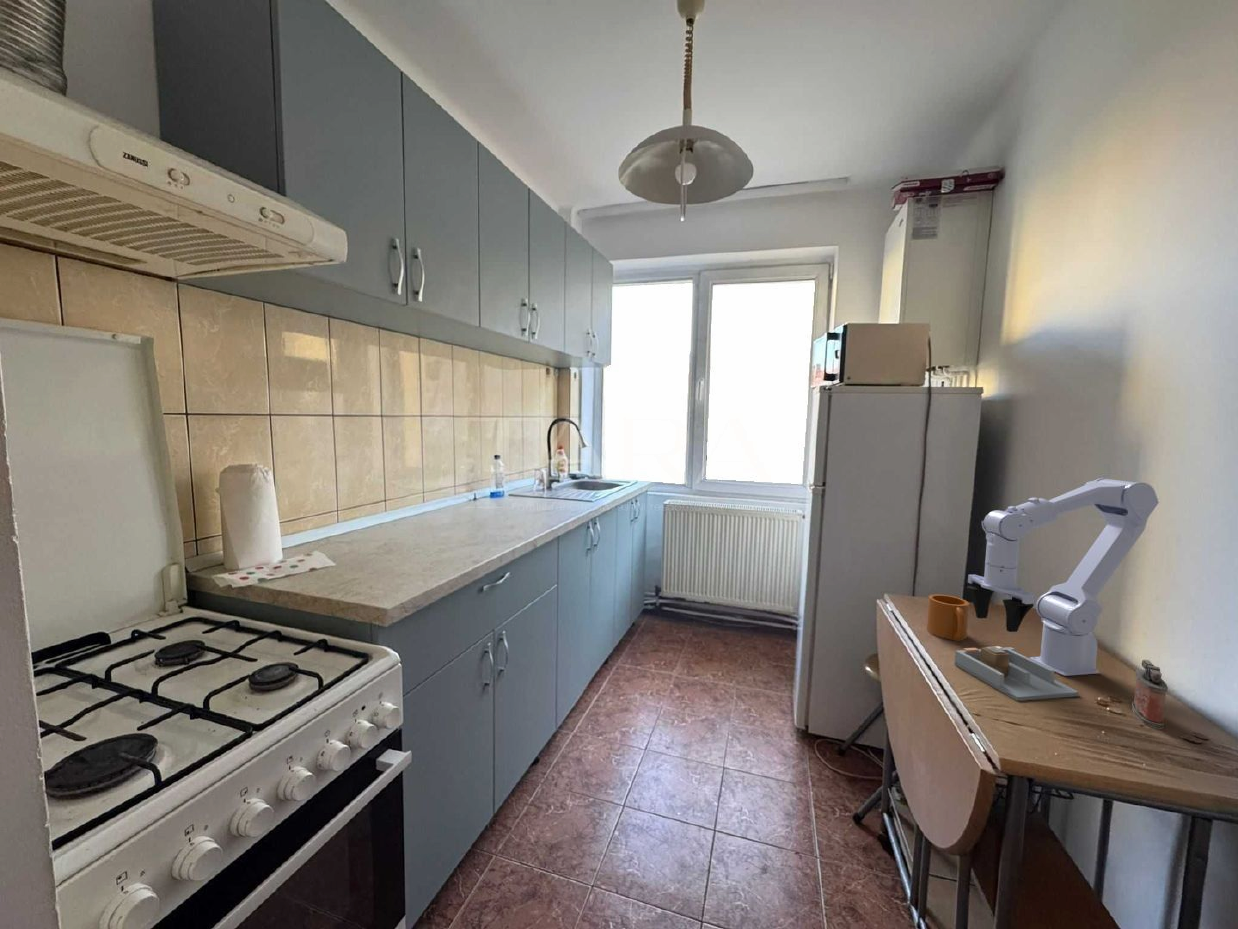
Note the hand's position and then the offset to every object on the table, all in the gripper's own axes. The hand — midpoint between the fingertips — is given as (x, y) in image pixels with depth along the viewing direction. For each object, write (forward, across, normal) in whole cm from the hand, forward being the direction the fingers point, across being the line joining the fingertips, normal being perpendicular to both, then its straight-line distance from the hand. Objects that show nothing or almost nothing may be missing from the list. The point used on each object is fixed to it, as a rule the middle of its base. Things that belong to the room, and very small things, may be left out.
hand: (996, 624), depth 113 cm
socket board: (+9, +6, -2) cm, 12 cm away
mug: (+10, -16, +3) cm, 19 cm away
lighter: (+10, +22, +10) cm, 26 cm away
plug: (+9, +5, -5) cm, 11 cm away
